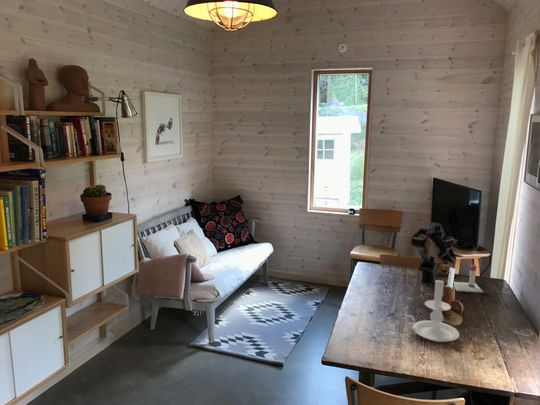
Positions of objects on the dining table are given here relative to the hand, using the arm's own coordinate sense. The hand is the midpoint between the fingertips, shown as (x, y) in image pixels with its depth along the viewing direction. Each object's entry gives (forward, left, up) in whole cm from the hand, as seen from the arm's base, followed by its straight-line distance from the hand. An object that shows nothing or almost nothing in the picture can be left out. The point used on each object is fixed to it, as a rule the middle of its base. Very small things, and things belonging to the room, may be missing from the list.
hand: (454, 260), depth 274 cm
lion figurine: (-3, +14, -14) cm, 20 cm away
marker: (+9, -8, -13) cm, 18 cm away
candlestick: (-30, -77, -14) cm, 84 cm away
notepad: (+5, -9, -14) cm, 17 cm away
